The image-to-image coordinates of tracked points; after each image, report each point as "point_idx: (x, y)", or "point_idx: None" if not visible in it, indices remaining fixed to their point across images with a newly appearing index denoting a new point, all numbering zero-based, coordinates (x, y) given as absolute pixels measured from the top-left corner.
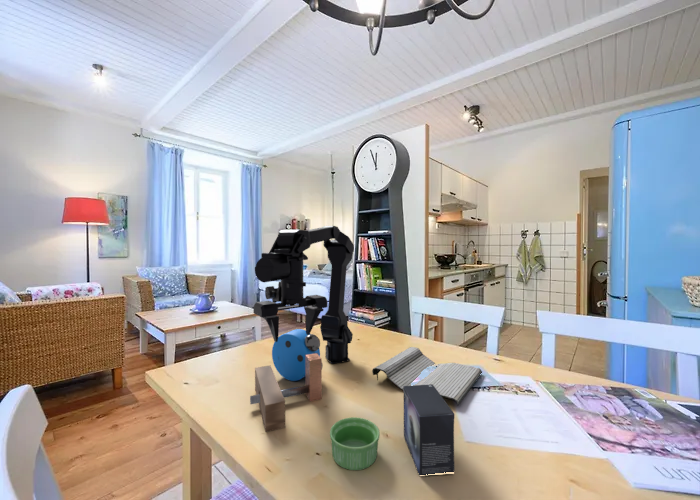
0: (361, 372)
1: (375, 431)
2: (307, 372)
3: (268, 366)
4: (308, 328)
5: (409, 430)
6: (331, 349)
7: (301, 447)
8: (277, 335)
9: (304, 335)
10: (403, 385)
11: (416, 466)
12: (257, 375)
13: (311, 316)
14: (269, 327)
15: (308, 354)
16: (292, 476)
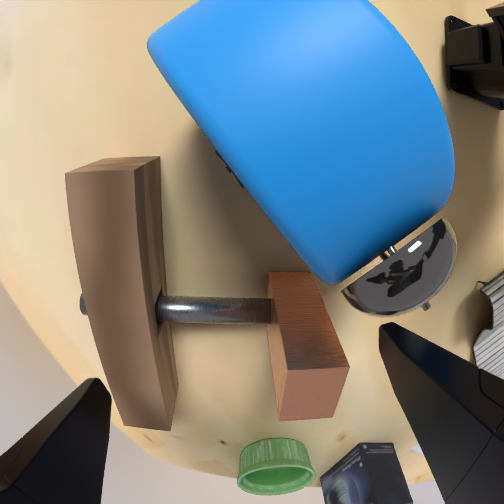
0: (485, 209)
1: (308, 477)
2: (275, 351)
3: (122, 182)
4: (401, 393)
5: (341, 490)
6: (486, 69)
7: (200, 428)
8: (101, 447)
9: (392, 211)
10: (486, 335)
11: (323, 478)
12: (77, 263)
13: (454, 494)
14: (18, 443)
15: (305, 369)
16: (179, 454)
